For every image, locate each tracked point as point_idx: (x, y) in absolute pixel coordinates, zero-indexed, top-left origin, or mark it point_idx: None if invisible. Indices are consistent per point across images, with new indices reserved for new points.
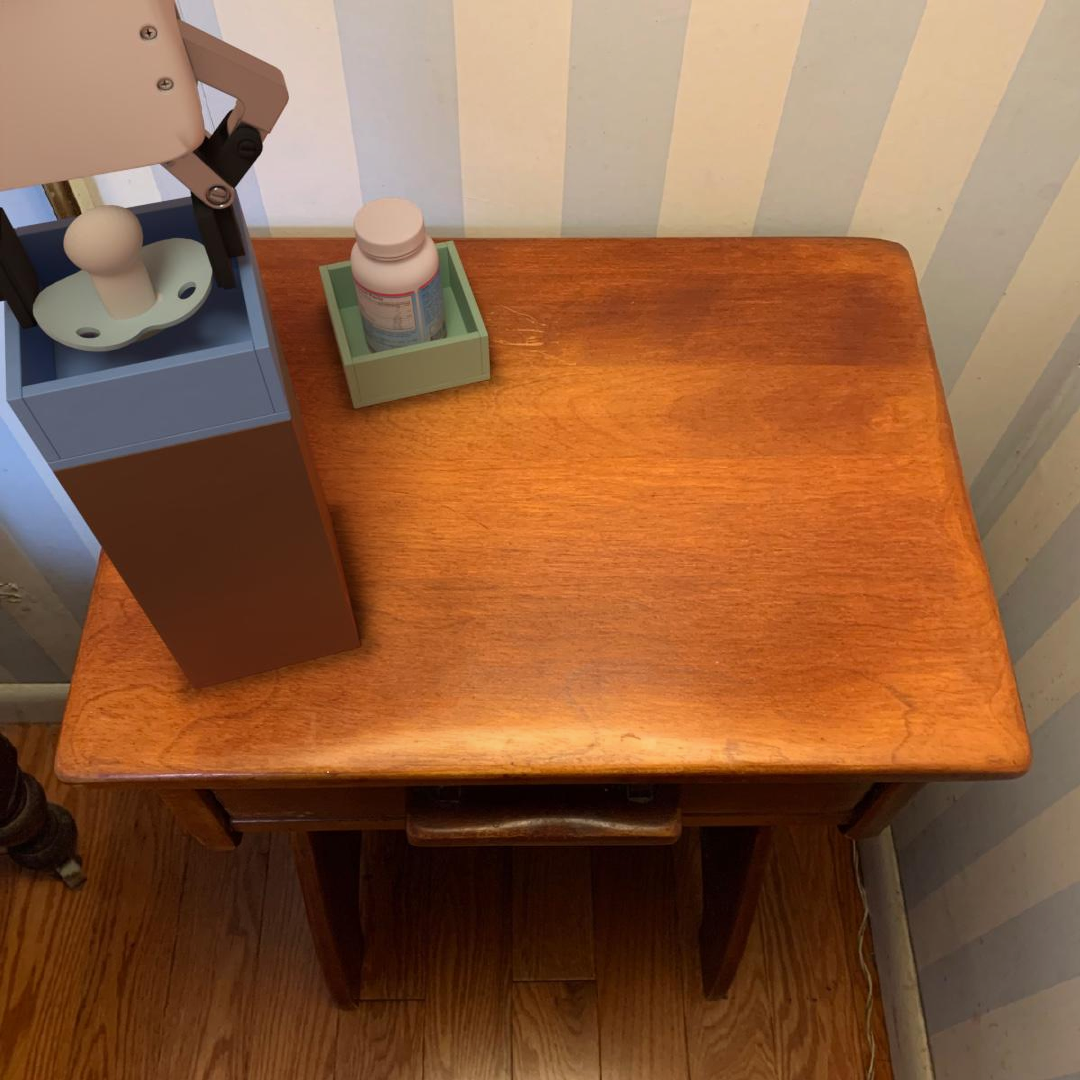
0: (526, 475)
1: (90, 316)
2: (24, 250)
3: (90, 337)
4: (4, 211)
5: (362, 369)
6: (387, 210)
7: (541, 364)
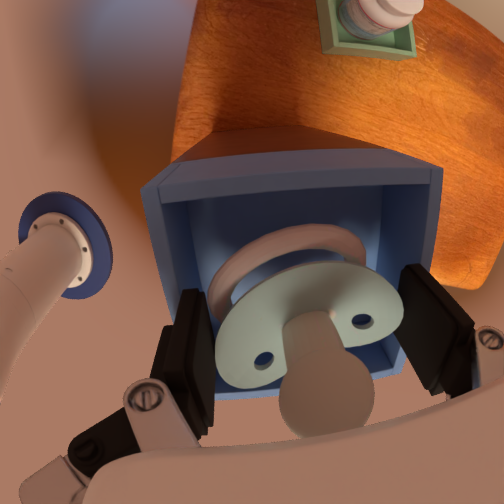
0: (402, 129)
1: (263, 336)
2: (199, 315)
3: (226, 230)
4: (193, 360)
5: (342, 48)
6: None
7: (423, 62)
